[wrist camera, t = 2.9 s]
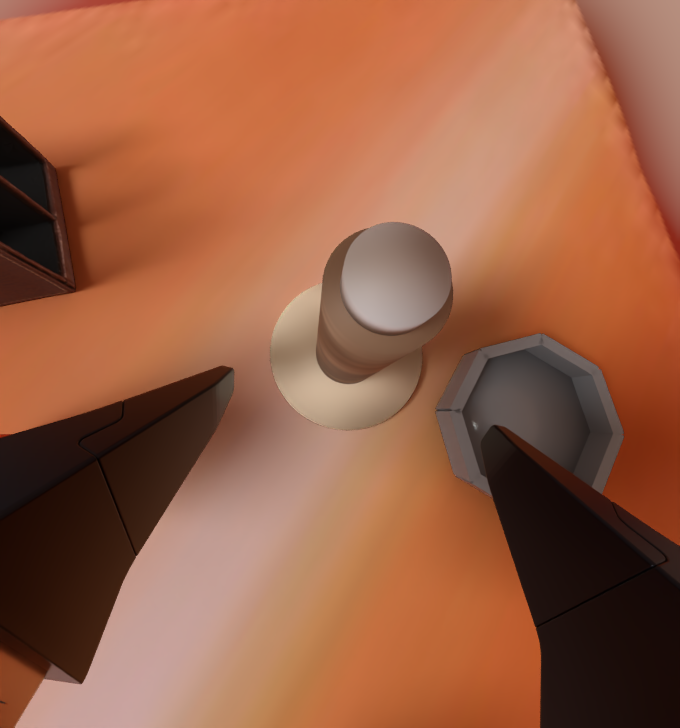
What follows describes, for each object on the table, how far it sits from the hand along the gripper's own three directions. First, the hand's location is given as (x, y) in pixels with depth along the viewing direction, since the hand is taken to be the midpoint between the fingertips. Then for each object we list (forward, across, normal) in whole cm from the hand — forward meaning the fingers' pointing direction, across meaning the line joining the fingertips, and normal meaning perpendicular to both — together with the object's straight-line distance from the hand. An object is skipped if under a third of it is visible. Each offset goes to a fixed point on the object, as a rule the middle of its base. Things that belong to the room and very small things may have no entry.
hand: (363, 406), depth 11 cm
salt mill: (+11, 0, -5) cm, 12 cm away
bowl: (+10, +13, -7) cm, 18 cm away
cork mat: (+11, 0, -6) cm, 13 cm away
